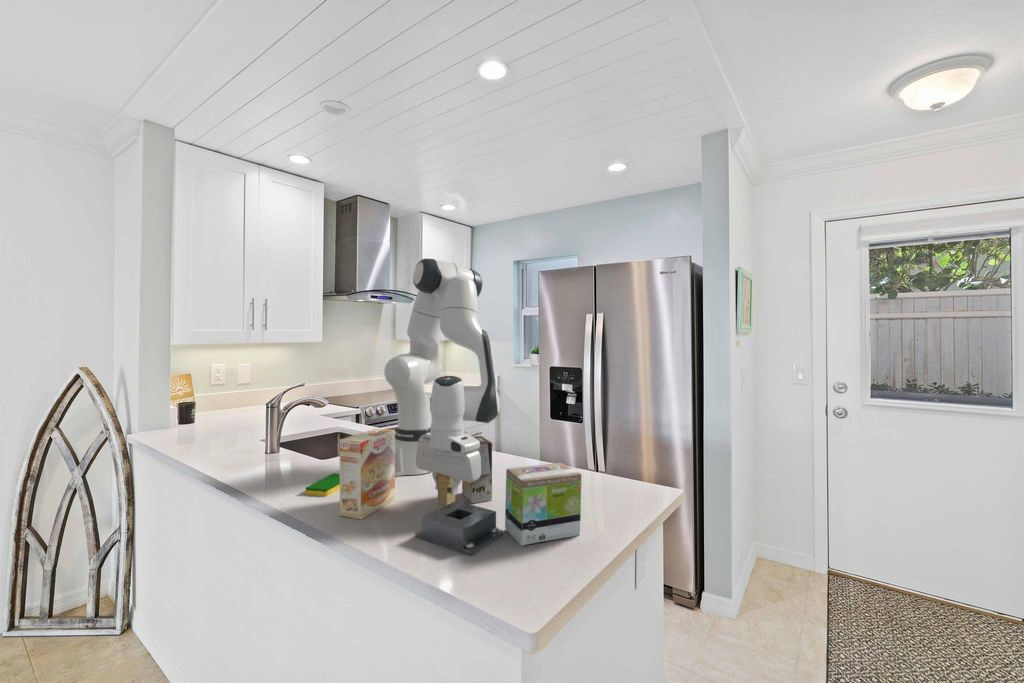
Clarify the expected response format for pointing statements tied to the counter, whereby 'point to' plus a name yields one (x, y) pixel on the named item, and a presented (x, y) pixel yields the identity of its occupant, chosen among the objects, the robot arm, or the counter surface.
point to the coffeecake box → (367, 472)
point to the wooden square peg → (444, 489)
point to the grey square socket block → (460, 527)
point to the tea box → (542, 503)
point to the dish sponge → (324, 486)
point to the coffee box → (483, 485)
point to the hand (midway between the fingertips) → (446, 491)
